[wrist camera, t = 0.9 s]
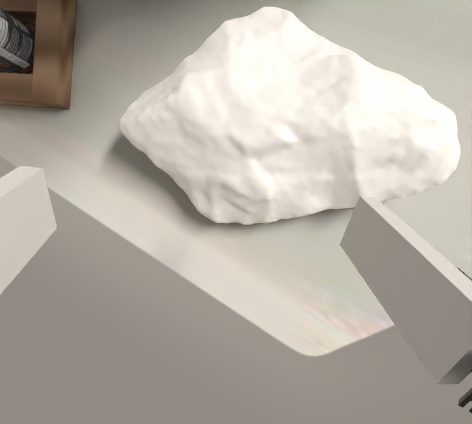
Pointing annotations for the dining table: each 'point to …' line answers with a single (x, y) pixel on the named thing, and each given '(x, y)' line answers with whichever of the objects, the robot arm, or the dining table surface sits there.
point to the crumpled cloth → (289, 125)
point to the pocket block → (43, 54)
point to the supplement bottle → (16, 44)
